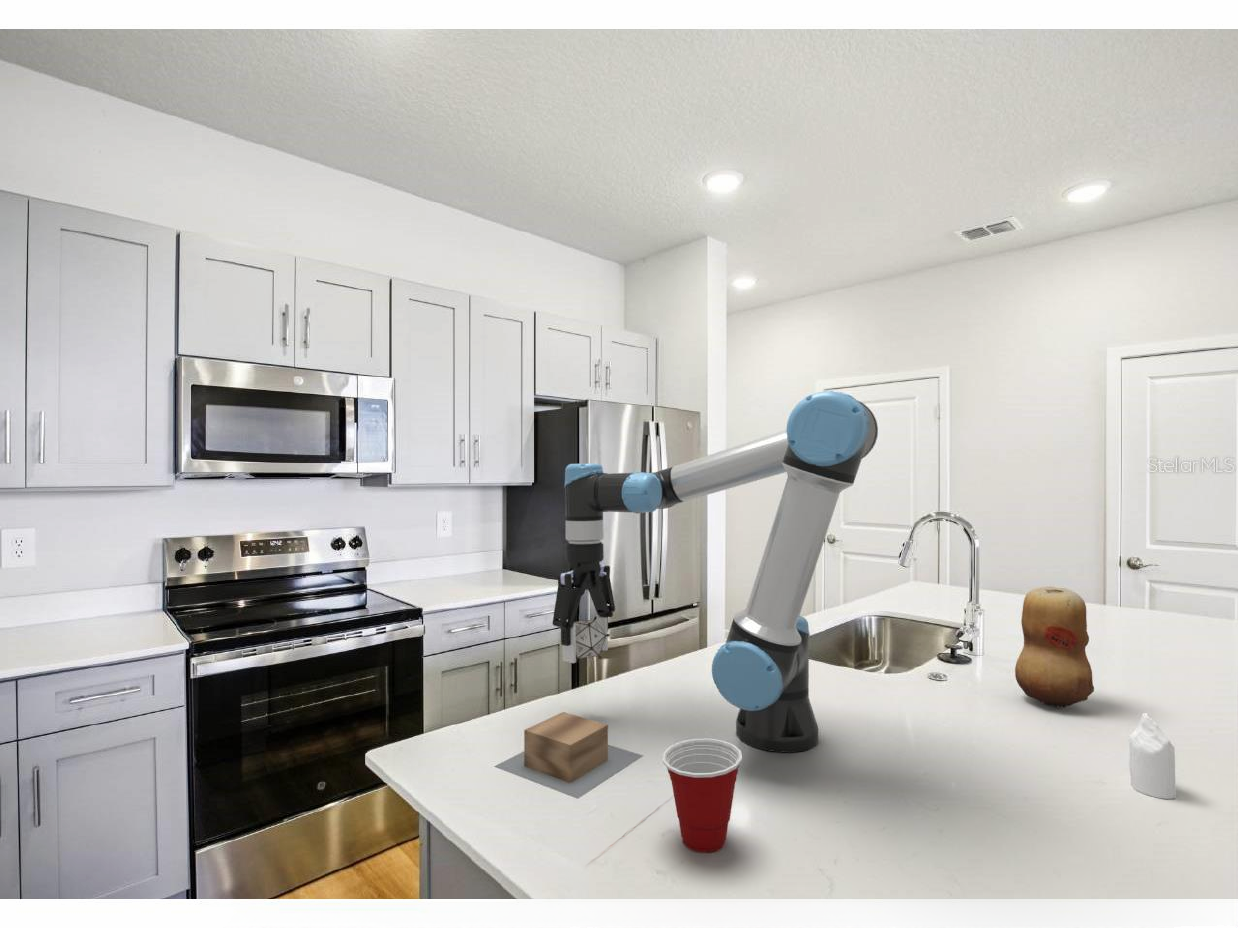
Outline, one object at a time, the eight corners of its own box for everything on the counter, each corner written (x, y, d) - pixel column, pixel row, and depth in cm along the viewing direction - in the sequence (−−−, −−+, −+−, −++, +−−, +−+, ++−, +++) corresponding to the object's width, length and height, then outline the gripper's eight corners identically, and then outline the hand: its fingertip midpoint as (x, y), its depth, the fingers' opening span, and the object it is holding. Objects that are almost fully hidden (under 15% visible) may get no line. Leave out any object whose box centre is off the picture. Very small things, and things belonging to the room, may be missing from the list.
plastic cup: (656, 820, 93) (656, 736, 93) (730, 817, 94) (730, 734, 94) (668, 867, 82) (668, 772, 82) (752, 863, 83) (752, 769, 83)
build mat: (643, 758, 113) (643, 755, 113) (577, 802, 98) (577, 798, 98) (564, 733, 123) (564, 730, 123) (494, 769, 109) (494, 766, 109)
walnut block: (607, 759, 111) (607, 724, 111) (570, 782, 103) (570, 744, 103) (563, 745, 117) (563, 711, 117) (524, 765, 109) (524, 730, 109)
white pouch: (1186, 721, 100) (1148, 721, 100) (1185, 799, 99) (1148, 799, 100) (1154, 707, 106) (1119, 706, 106) (1154, 780, 105) (1119, 780, 106)
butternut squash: (1021, 711, 136) (1021, 591, 136) (1010, 690, 148) (1010, 581, 148) (1102, 721, 130) (1102, 596, 130) (1083, 699, 143) (1083, 585, 143)
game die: (593, 680, 127) (601, 647, 121) (554, 662, 128) (559, 630, 123) (610, 646, 134) (618, 614, 128) (572, 631, 136) (578, 598, 130)
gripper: (602, 535, 140) (604, 640, 139) (531, 546, 122) (533, 666, 121) (631, 537, 135) (633, 645, 135) (562, 548, 117) (563, 672, 117)
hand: (585, 655), depth 128 cm, fingers closed on game die, 9 cm apart
